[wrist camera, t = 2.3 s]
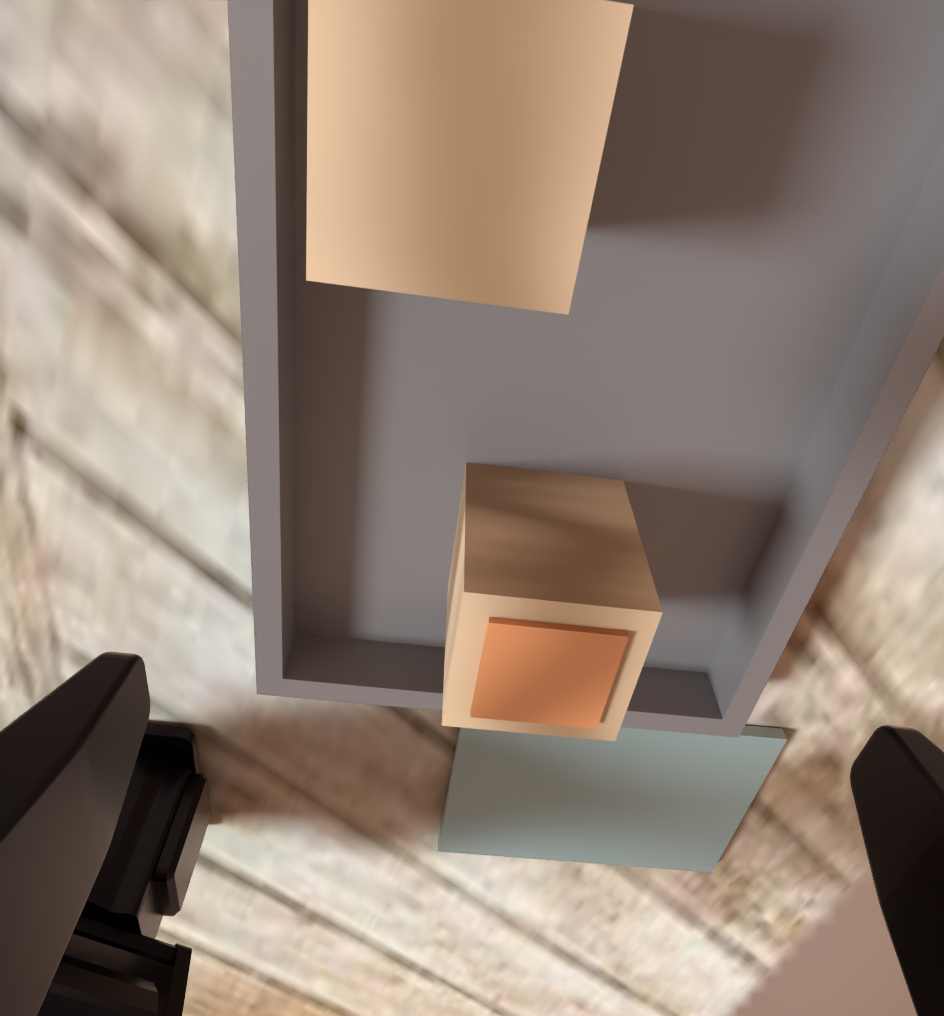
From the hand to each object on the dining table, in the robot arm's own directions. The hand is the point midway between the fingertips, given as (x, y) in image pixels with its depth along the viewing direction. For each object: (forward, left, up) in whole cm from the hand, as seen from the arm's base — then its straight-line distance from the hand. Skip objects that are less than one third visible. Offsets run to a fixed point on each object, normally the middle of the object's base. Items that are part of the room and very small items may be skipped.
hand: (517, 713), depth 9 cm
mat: (+7, -19, -12) cm, 23 cm away
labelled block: (+2, -6, -12) cm, 14 cm away
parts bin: (+2, -1, -12) cm, 13 cm away
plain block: (-2, +5, -12) cm, 13 cm away
